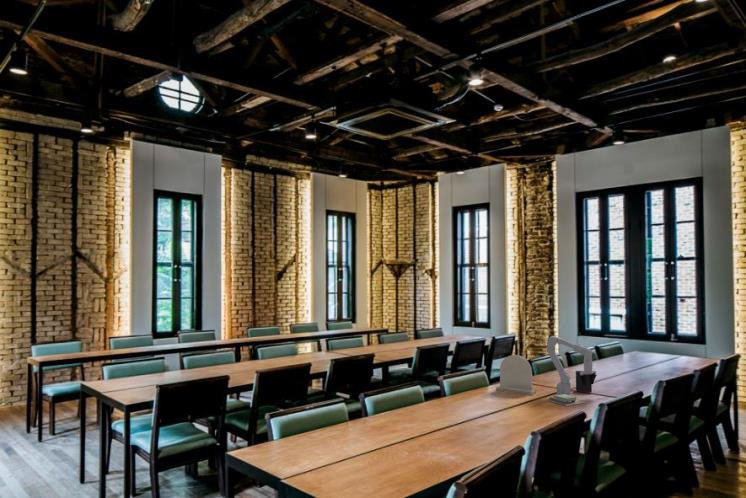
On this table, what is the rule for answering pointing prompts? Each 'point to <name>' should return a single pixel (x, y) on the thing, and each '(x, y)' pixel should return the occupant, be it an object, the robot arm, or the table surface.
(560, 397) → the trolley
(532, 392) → the award
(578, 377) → the calculator
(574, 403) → the dock
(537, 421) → the table surface
